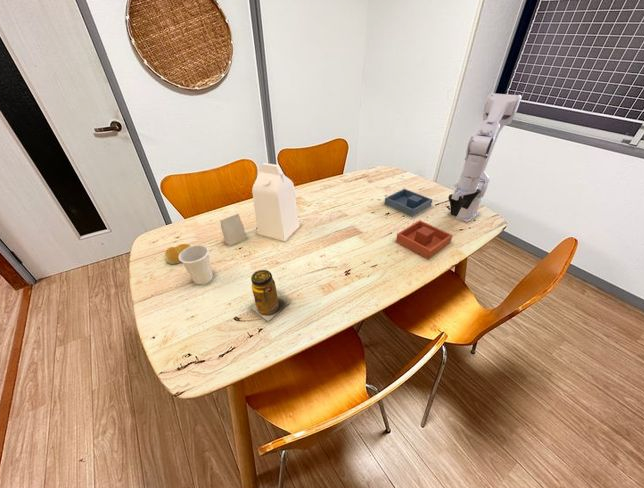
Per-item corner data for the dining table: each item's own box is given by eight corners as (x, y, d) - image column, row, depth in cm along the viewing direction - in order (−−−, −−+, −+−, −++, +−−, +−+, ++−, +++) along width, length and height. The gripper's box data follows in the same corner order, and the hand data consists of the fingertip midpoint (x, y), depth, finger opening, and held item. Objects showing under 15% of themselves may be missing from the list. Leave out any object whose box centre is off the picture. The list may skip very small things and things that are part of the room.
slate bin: (403, 195, 129) (404, 188, 127) (430, 207, 120) (432, 199, 118) (384, 205, 122) (385, 197, 120) (411, 218, 113) (413, 210, 111)
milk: (299, 225, 110) (294, 161, 94) (284, 241, 102) (275, 173, 86) (274, 219, 114) (264, 156, 98) (257, 234, 106) (244, 168, 90)
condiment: (250, 308, 77) (242, 277, 70) (273, 291, 82) (267, 260, 75) (268, 321, 73) (260, 290, 66) (290, 303, 78) (286, 271, 71)
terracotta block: (421, 236, 102) (423, 226, 99) (431, 241, 99) (434, 231, 96) (414, 241, 100) (416, 230, 97) (424, 246, 97) (427, 236, 94)
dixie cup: (201, 291, 83) (190, 266, 77) (183, 281, 86) (172, 256, 80) (222, 274, 88) (214, 250, 82) (205, 266, 92) (196, 241, 86)
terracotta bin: (417, 227, 107) (419, 220, 105) (450, 243, 99) (452, 235, 97) (395, 241, 100) (397, 233, 98) (428, 259, 92) (430, 251, 90)
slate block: (412, 203, 121) (413, 194, 118) (420, 207, 119) (422, 198, 116) (405, 207, 119) (407, 198, 116) (414, 211, 116) (416, 201, 114)
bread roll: (197, 257, 95) (193, 248, 93) (169, 267, 92) (164, 258, 89) (191, 245, 101) (188, 236, 98) (165, 254, 97) (160, 245, 95)
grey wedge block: (246, 238, 104) (240, 215, 98) (229, 246, 100) (222, 222, 94) (241, 234, 106) (236, 211, 100) (225, 241, 103) (218, 218, 96)
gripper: (470, 165, 96) (459, 201, 104) (447, 177, 88) (437, 214, 97) (490, 171, 91) (477, 207, 100) (468, 184, 84) (456, 222, 93)
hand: (459, 211), depth 98 cm, fingers open, 7 cm apart
